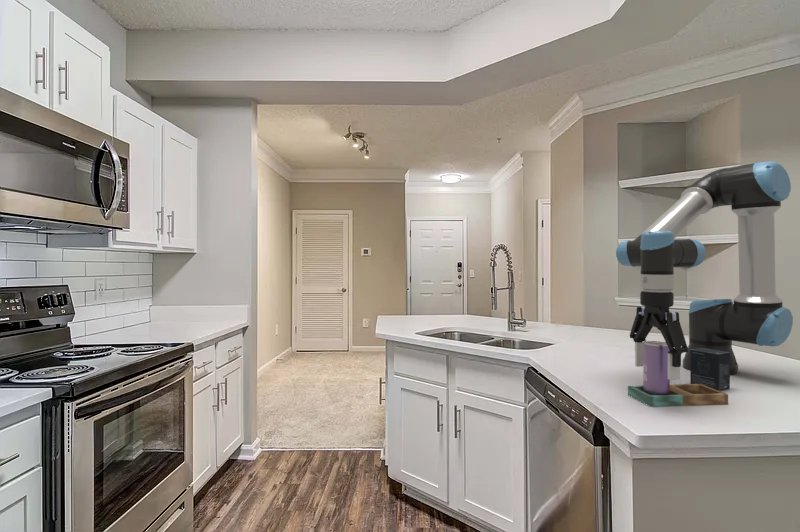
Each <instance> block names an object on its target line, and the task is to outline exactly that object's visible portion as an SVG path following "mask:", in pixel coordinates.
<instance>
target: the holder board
mask: <svg viewBox="0 0 800 532" xmlns="http://www.w3.org/2000/svg"><path fill="white" fill-rule="evenodd" d="M629 395H630V396H629ZM627 396H629V397H631V396H632V397H633V398H632V397H631V398H632V399H634V398H635V400H636V399H637V401H638V400H639V401H638V402H640V401H641V402H640V403H642V402H643V403H642V404H644V403H645V404H644V405H646V404H647V405H649V406H658V407H681V406H682V407H684V406H685V407H687V406H715V405H716V406H718V405H729V394H728V393H725V392H723V391H718V390H715V389H713V388H710V387H707V386H705V385H702V384H690V383H686V384H685V383H684V384H681V383H679V384H670V395H649V394H647V393H645V392H643V385H628V386H627ZM647 405H646V406H647ZM649 406H648V407H649Z"/></svg>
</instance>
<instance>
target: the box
mask: <svg viewBox="0 0 800 532" xmlns="http://www.w3.org/2000/svg"><path fill="white" fill-rule="evenodd" d="M689 371H690V372H689V373H690V377H689V378H690V383H689V384H702V385H705V386H707V387H710V388H713V389H715V390H718V391H721V392H723V391H727V390H730V388H731V385H730V384H731V377H730V376H731V374H730V352H726V351H720V350H714V349H707V348H695V349H691V350H690V370H689Z"/></svg>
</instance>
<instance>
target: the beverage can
mask: <svg viewBox="0 0 800 532" xmlns="http://www.w3.org/2000/svg"><path fill="white" fill-rule="evenodd" d="M669 351H670V350H669V348H668V346H667V344H666V342H665V341H660V340H659V341H658V340H645V342H644V346H643V366H642V369H643V370H642V371H643V373H642V375H643V376H642V377H643V378H642V379H643V380H642V381H643V382H642V383H643V392H645V393H647V394H649V395H670V385H671V383H670V382H671V380H668V352H669Z"/></svg>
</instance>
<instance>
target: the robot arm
mask: <svg viewBox="0 0 800 532" xmlns="http://www.w3.org/2000/svg"><path fill="white" fill-rule="evenodd" d="M790 193H791V180H790V176H789V174H788V172H787V170H786V168H785V167H784V166H783V165H782V164H781V163H779V162H777V161H772V160H771V161H761V162H760V161H759V162H753V163H750V164H749V163H748V164H743V165H738V166H732V167H726V168H719V169H716V170H714V171H712V172H709V173H706V174H705V175H704V176H701V178H699V179H697V180H696V181H694V182H693V183H691V184H690V185H689V186H688V187H687V188H686V189H684V190H683V191H682V193H681V194H680V198H679V199H678V200H677V201H676V202H675V203H674V204H673V205H671V206H670V207H668V209H667V210H666V211H665V212H664V213H662V214H661V215H660V216H659V217H658V218H657V219H656V220H655V221H653V223H651V225H649V226H648V227H647V228H646V229H644V230H643V232H641V233H640V234H639V235H638V236H637V237H636V238H635V239H633V240H624V241H622V242H620V243H619V244H618V245H617V247H616V250H615V257H616V260H617V261H618V263H619V264H620V265H622V266H625V267H633V268H635V267H640V279H639V280H640V289H641V292H640V293H639V295H640V297H639V298H640V299H639V300H640V302H639V303H640V305H641V306H637V307H636V312H635V313H636V314H635V316H634V321H633V324H632V326H631V331H630V333H629V338H630V339H632V340H633V342H634V352H635V353H634V355H635V356H634V362H635V363H634V365H635V366H634V367H643V346H644V342H645V341H647V337H648V336H649V334H650V332H651V330H652V329H653V327H654V328H657V330H658V331H660V333H661V335H662V338H663V339H664V342H666V344H667V346H668V348H669V350H670V351H669V352H668V380H670V381H676V380H677V381H680V380H681V366H682V367H683V368H685V369H687V370H689V371H690V350H691V349H695V348H707V349H714V350H720V351H726V352H730V375H736V374H738V373H739V364H738V361H737V359H736V356H735V353H734V350H733V347H732V346H733V345H732V344H733V343H732V342H738V343H743V344H744V343H746V344H752V345H758V346H759V347H761V346H766V347H778V346H780V345H783V343H784V342H786V340H788V338H789V336H790V334H791V332H792V329H793V325H794V318H793V317H794V316H793V314H792V312H791V310H790V309H789V308H786V307H783V299H781V298H780V297H779V296H777V294H776V293H777V292H776V290H777V289H776V248H775V247H776V245H775V242H776V241H775V237H776V235H775V234H776V233H775V213H776V212H777V211H778V210H780V208H781V207H782V205H781V204H782V203H781V202H783V201H785V200H787V199H788V198H789V196H790ZM723 206H725V207H726V206H730V207H731V208H730V209H731V212H732V213H734V214H735V215H736V216H737V236H738V239H737V240H738V247H737V248H738V280H739V281H738V283H739V284H738V289H739V292H738V293H739V294H738V295H737V296H735V298H733V300H732V299H731V298H718V299H717V298H716V299H715V298H714V299H697V300H696V299H695V300H693V301H692V302H690V303H689V309H688V329H689V330H688V339H689V341H688V344H687V340H686V338H685V335H684V331H683V329H682V325H681V323H680V313H679V312H678V311H673V312H672V311H670V308H671V307H673V306H674V300H675V299H674V293H673V290H674V289H675V279H674V278H675V275H674V274H675V273H674V271H675V270H674V268H691V267H698V266H699V265H701V264H702V263H703V262H704V261H705V258H706V255H707V252H706V250H707V249H706V248H705V246H704V244H703V243H702V242H701V241H699V240H697V239H690V238H684V239H683V238H678V239H677V237H678V236H679V235H681V233H682V232H683V231H684V230H685V229H687V227H688V226H690V225H691V224H692V223H693V222H694V221H695V220H696V219H697V218H698V217H699V216H700V215H704V214H707V213H708V212H710V211H711V210H712V209H714V208H719V207H723ZM684 353H685V354H684ZM682 354H684V357H683V359H682Z"/></svg>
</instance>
